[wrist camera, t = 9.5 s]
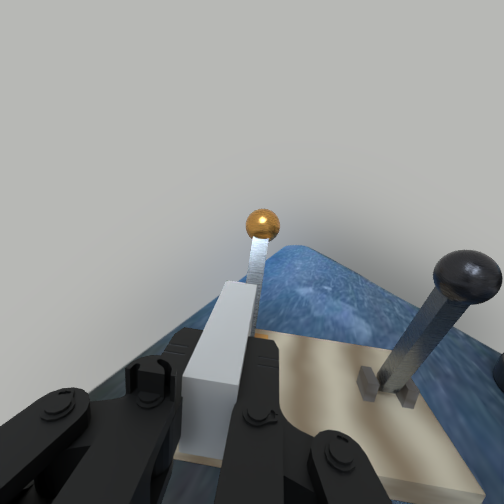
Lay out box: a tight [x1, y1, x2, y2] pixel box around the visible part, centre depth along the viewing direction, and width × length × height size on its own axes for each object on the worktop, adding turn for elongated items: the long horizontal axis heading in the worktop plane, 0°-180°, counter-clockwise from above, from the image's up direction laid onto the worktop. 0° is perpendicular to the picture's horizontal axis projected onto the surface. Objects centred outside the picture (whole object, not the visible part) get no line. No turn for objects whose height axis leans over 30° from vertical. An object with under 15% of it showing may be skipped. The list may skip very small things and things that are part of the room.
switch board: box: [173, 329, 486, 504], centre depth 27 cm, size 23×16×4 cm
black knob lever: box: [376, 250, 502, 394], centre depth 22 cm, size 4×4×16 cm
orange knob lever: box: [246, 209, 280, 337], centre depth 28 cm, size 4×4×16 cm
